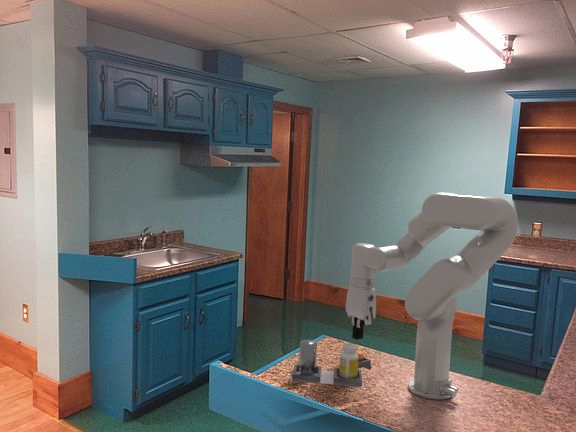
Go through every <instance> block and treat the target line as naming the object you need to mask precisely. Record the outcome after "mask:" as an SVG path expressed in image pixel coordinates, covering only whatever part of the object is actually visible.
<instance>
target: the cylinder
mask: <svg viewBox="0 0 576 432" xmlns="http://www.w3.org/2000/svg"><path fill="white" fill-rule="evenodd" d="M317 348H318V342H317V341H315V340H313V339H302V340H300V342H299V356H298V357H299V359H298V361H299V363H298V365H299V374H306V375H315V374H316V366H317V350H318V349H317Z"/></svg>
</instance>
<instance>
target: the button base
mask: <svg viewBox="0 0 576 432" xmlns="http://www.w3.org/2000/svg"><path fill="white" fill-rule="evenodd" d="M360 367H363V368H364V369H367V370H369V369H372V364H371V359H370V358H368V357H366V356H364V360H362V361H358V368H360Z"/></svg>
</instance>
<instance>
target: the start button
mask: <svg viewBox="0 0 576 432" xmlns="http://www.w3.org/2000/svg"><path fill="white" fill-rule="evenodd" d="M355 353H357V354H358V361H362V360H364V357H365V352H364V351H363V350H356V352H355Z"/></svg>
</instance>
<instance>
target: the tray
mask: <svg viewBox="0 0 576 432" xmlns="http://www.w3.org/2000/svg"><path fill="white" fill-rule="evenodd" d="M290 381H291V382H299V383H312V384H324V385H325V384H326V385H335V386H336V385H337V386H348V387H360V388H364V387H365V386H364V377H363V372H362V369H359V368H358V374H357V379H354V378H342V377H339V367H334V368H333V370H326V369H325V370H324V369H322V366H320V365H316V374H315V375H306V374H299V363H298V364H294V366H293V369H292V373H291V376H290Z"/></svg>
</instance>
